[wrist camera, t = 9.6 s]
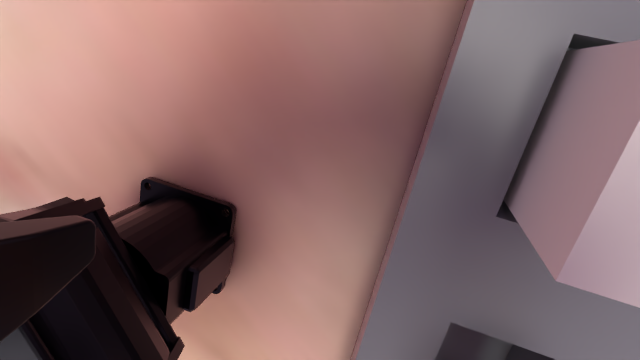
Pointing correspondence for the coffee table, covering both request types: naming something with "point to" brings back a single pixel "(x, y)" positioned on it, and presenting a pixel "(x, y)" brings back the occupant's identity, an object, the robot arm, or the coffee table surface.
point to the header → (492, 204)
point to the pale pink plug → (586, 174)
